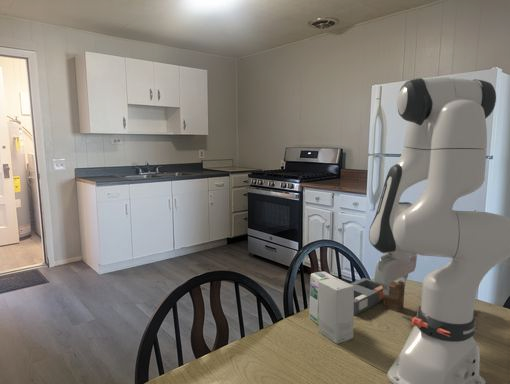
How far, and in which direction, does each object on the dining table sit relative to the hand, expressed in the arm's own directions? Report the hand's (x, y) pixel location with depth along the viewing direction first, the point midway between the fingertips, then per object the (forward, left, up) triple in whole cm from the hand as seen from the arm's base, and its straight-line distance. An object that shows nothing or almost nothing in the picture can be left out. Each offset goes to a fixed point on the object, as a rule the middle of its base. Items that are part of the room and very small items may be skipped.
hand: (394, 290), depth 118 cm
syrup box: (-26, +10, -6) cm, 28 cm away
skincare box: (-30, +2, -6) cm, 30 cm away
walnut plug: (-1, 0, -6) cm, 6 cm away
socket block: (-6, +9, -6) cm, 12 cm away
